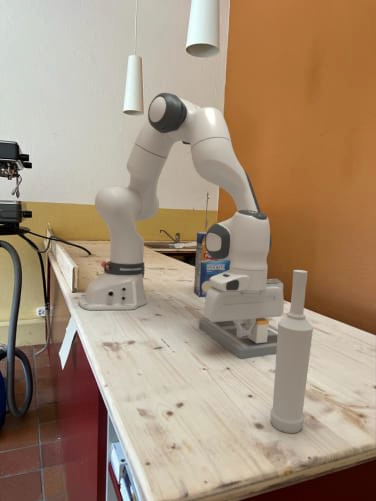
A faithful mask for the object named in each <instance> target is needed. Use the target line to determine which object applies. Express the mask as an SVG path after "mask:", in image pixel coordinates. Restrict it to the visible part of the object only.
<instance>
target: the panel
mask: <svg viewBox="0 0 376 501" xmlns="http://www.w3.org/2000/svg"><path fill="white" fill-rule="evenodd" d="M265 319H267V320H269V319H270V317H268V318H265ZM269 321H270V320H269ZM198 322H199V323H198V324H199V325H198V328H200V329H201V330H202V331H203V332H205V333H206V334H207V335H208V336H210V338H212V339H214V340H215V341H216V342H218V344H220V345H221V346H222V347H224V348H225V349H226V350H228V351H229V352H230V353H232V354H233V355H234V356H235V357H237V359H239V360H241V359H247V358H255V357H263V356H270V355H276V351H277V336H278V327H275V326H273V325H272V324H270V323H269V324H268V335H267V342H264V343H255V342H254V341H252V340H250V339H249V338H247V337H238V336H237V328H236V326H235V324H234V322H233V321H222V322H212V321H210V320H209V319H202V320H199V321H198ZM247 322H248V321H247V320H246V319H245V320H243V324H241V326H242V328H245V326H246V324H247Z"/></svg>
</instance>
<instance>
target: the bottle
mask: <svg viewBox="0 0 376 501" xmlns="http://www.w3.org/2000/svg"><path fill="white" fill-rule="evenodd" d="M292 272H293V273H292V289H291V297H290V298H291V299H290V307H289V308H290V310H289V311H288V312H287V314H286V315H287V316H285V317H284V318H282V319H280V321H278V323H277V324H278V325H277V326H278V327H277V329H278V336H277V351H276V354H275V368H274V385H273V398H272V407H271V408H270V409H271V410H270V422H271V425H272V426H273V427H274V428H275V429H276V430H278V431H280V432H283V433H287V434H295V433H298V432H300V431H301V430H302V427H303V426H304V421H305V420H304V419H305V416H304V414H303V413H304V406H305V396H306V389H307V388H306V387H307V381H308V373H309V372H308V371H309V364H310V355H311V354H310V353H311V347H312V340H313V338H312V337H313V331H314V327H313V325H312V324H311V323H310V321H308V320H307V319H306V314H304V310H305V299H306V288H307V283H308V282H307V281H308V280H307V279H308V270H307V271H306V270H301V269H294V270H293V271H292Z"/></svg>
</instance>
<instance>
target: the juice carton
mask: <svg viewBox="0 0 376 501" xmlns="http://www.w3.org/2000/svg"><path fill="white" fill-rule="evenodd" d="M206 233H207V232H196V250H195V266H194V267H195V269H194V284H193V293H194V294H195V295H196V296H197V297H198V298H206V295H207V292H208V290H209V289H210V288H211V287H212V286H211V285H210V283H209V280H210V278H211V277H212V276H215V275H218V274H220V273H223V272H225V271H227V270H229V268H230V260H217V259H213V258H212V257H211V256H210V255H209V254H208V252H207V251H206V248H205V236H206Z"/></svg>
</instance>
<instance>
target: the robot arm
mask: <svg viewBox="0 0 376 501" xmlns="http://www.w3.org/2000/svg"><path fill="white" fill-rule="evenodd" d="M177 142H182V144H183V145H189V146H190V153H191V158H192V164H193V166H194V167H193V168H194V170H195V172H196V173H197V174H198V176H200V178H202V179H203V180H205V181H207V182H209V183H211V184H213V185H215V186H217V187H219V188H221V189H223V190H224V191H225V192H226V193H228V194H229V195H230V196H231V198H232V199H233V201H234V204H235V207H236V211H235V213H234V215H233V216H232V217H230V218H228V219H227V220H226V219H225V220H223V221H221V222H217V223H213V224H212V225H211V226H210V227H208V229H207V231H206V232H205V233H206V236H205V248H206V251H207V252H208V254H209V255H210V256H211V257H212V258H213V259H217V260H230V268H229V270H227V271H225V272H223V273H220V274H218V275H215V276H212V277H211V278H210V280H209V283H210V285H211V286H212V287H211V288H210V289H209V290H208V292H207V295H206V297H205V302H204V312H203V313H204V316H205V317H206V320H210V321H212V322H222V321H233V322H234V324H235V326H236V328H237V336H238V337H248V336H250V335H251V329H252V328H253V326H254V325H255V323H256V318H268V317H269V318H276V317H277V318H278V317H281V316H282V315H283V313H284V310H285V308H284V307H285V306H284V303H285V302H284V301H285V300H284V283H283V282H282V281H281V280H280V279H278V278H268V269H269V268H268V262H267V258H268V254H269V253H270V252H271V250H272V249H271V248H272V245H273V237H272V234H271V227H270V220H269V217H268V216H267V215H266V214H265V213H263V212H261V208H260V205H259V203H258V199H257V196H256V193H255V190H254V187H253V184H252V181H251V179H250V177H249V174H248V173H247V171H246V170H245V169H244V167H242V165H241V163H240V162H239V160H238V158H237V156H236V154H235V151H234V148H233V144H232V139H231V133H230V131H229V127H228V125H227V122H226V120H225V117H224V115H223V113H222V112H221V110H219V109H217V107H216V108H215V107H212V106H205V107H201V106H199V105H198V104H196V103H194V102H192V101H189V100H187V99H184V98H182V97H179V96H178V95H176V94H174V93H169V92H161V93H158V94H157V95H155V97H154V98H153V99H151V102H150V104H149V106H148V111H147V119H146V121H145V122H144V124H143V125H142V127H141V129H140V130H139V133H138V134H137V138H136V139H135V142H134V145H133V147H132V149H131V152H130V154H129V156H128V159H127V162H126V169H127V170H126V171H128V173H129V176H130V178H129V183H128V186H127V187H126V186H117V185H114V186H108V187H104V188H101V189H100V190H99V191H98V192H97V194H96V196H95V199H94V208H95V211H96V213H97V214H98V215H99V217H101V219H103V221H104V223H105V225H106V227H107V231H108V234H109V240H110V245H109V246H110V251H109V252H110V253H109V256H110V259H109V261H108V262H106V261H105V260H103V261H102V262H100V265H101V266H100V267H102V268H103V272H102V273H101V274H100V275H98V277H96V278H95V279H93V280H92V281H90V282H89V283H88V286H87V288H86V291H85V295H84V296H81V297H79V299H78V305H79V307H81V308H82V309H84V310H86V311H92V310H93V311H101V310H103V311H106V310H110V311H111V310H114V311H115V310H116V311H118V310H119V311H120V310H122V311H123V310H124V311H125V310H128V311H129V310H135V309H137V308H138V307H142V306H144V305H146V304H147V298H146V295H145V294H146V293H145V287H144V277H145V269H146V268H145V267H146V266H145V262H144V254H145V252H144V250H145V249H144V248H145V241H144V237H143V236H142V235H141V234H139V231H138V230H137V225H136V221H138V222H139V221H141V222H142V221H146V220H149V219H152V218H153V217H155V216H156V215H157V214H158V212H159V208H160V201H159V199H158V196H157V188H158V183H159V179H160V177H161V174H162V171H163V168H164V166H165V164H166V162H167V160H168V157H169V155H170V153H171V152H170V151H171V150H172V147H173V146H174V144H175V143H177ZM245 319H246V320H247V321H248V322H247V324H246V326H245V328H242V326H241V324H243V320H245Z"/></svg>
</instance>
